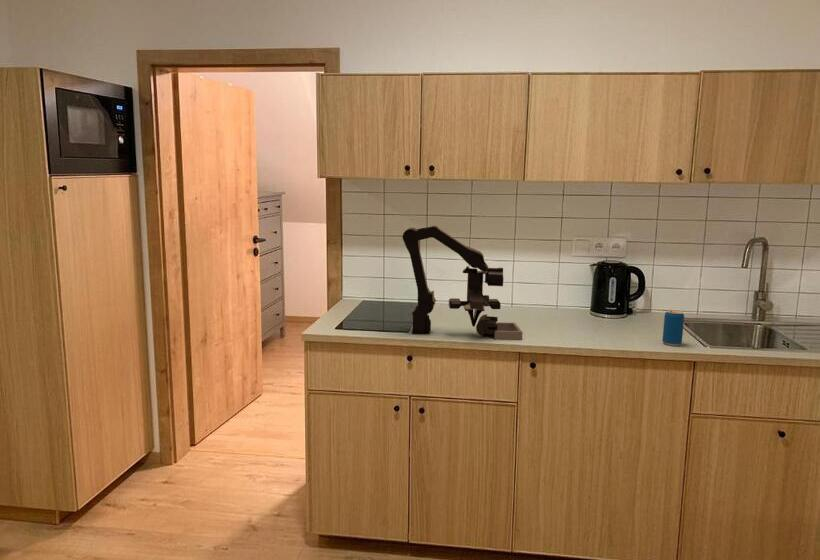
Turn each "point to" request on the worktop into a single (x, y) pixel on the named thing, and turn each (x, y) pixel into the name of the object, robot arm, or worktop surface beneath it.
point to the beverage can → (673, 327)
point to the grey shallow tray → (507, 331)
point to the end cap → (487, 326)
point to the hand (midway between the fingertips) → (473, 326)
